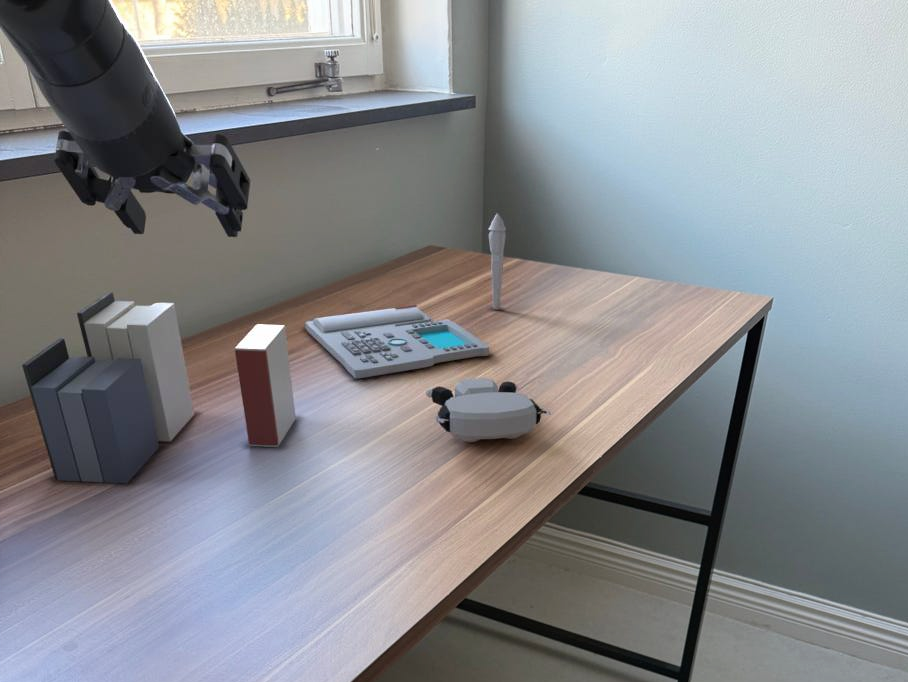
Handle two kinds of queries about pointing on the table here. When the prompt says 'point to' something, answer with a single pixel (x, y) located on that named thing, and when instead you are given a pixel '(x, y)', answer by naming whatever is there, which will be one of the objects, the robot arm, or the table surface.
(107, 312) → the white books
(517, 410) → the robot toy
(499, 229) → the pen
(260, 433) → the cream book
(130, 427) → the grey books
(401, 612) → the table surface
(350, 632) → the table surface
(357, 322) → the office telephone
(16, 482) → the table surface
